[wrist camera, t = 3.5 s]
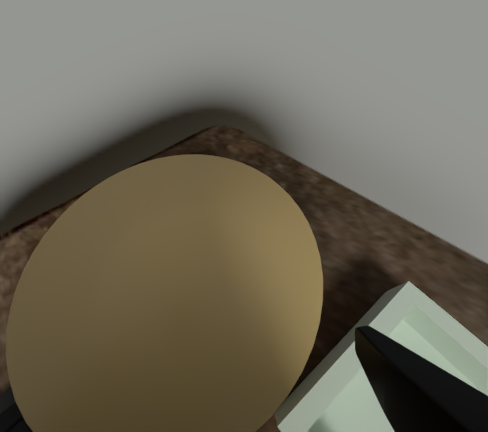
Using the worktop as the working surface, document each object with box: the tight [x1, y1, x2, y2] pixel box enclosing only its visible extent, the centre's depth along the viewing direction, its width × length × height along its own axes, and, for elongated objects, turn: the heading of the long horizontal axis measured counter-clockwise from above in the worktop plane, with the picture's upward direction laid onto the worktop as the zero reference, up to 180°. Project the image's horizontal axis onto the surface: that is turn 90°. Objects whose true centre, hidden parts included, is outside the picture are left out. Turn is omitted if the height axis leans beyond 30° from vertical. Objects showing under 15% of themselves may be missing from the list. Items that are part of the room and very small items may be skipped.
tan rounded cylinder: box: [6, 154, 323, 432], centre depth 10 cm, size 5×5×14 cm
